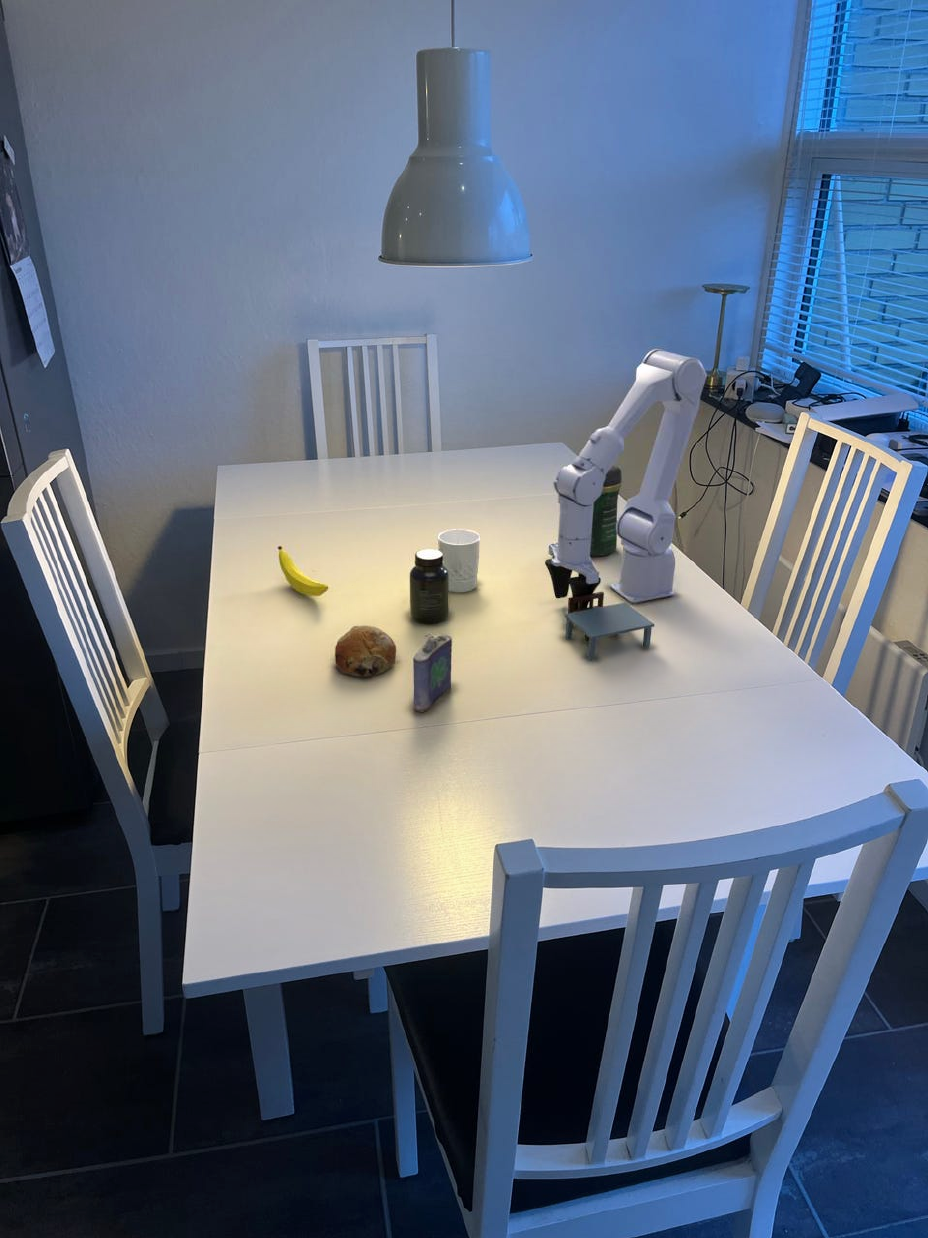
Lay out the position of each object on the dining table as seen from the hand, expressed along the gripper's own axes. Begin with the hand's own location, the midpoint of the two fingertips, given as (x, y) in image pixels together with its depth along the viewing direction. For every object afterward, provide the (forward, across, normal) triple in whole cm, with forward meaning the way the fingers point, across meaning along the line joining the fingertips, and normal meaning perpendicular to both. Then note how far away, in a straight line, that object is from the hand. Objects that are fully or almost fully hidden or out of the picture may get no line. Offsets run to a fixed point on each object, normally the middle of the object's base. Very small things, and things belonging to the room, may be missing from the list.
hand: (570, 604), depth 172 cm
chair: (+1, +8, 0) cm, 8 cm away
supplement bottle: (+2, -8, -24) cm, 25 cm away
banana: (+2, -26, -42) cm, 50 cm away
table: (+1, +13, 0) cm, 13 cm away
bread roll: (+2, +4, -40) cm, 40 cm away
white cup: (+2, -18, -14) cm, 23 cm away
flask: (+2, +18, -34) cm, 38 cm away
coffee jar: (+2, -24, +19) cm, 31 cm away
